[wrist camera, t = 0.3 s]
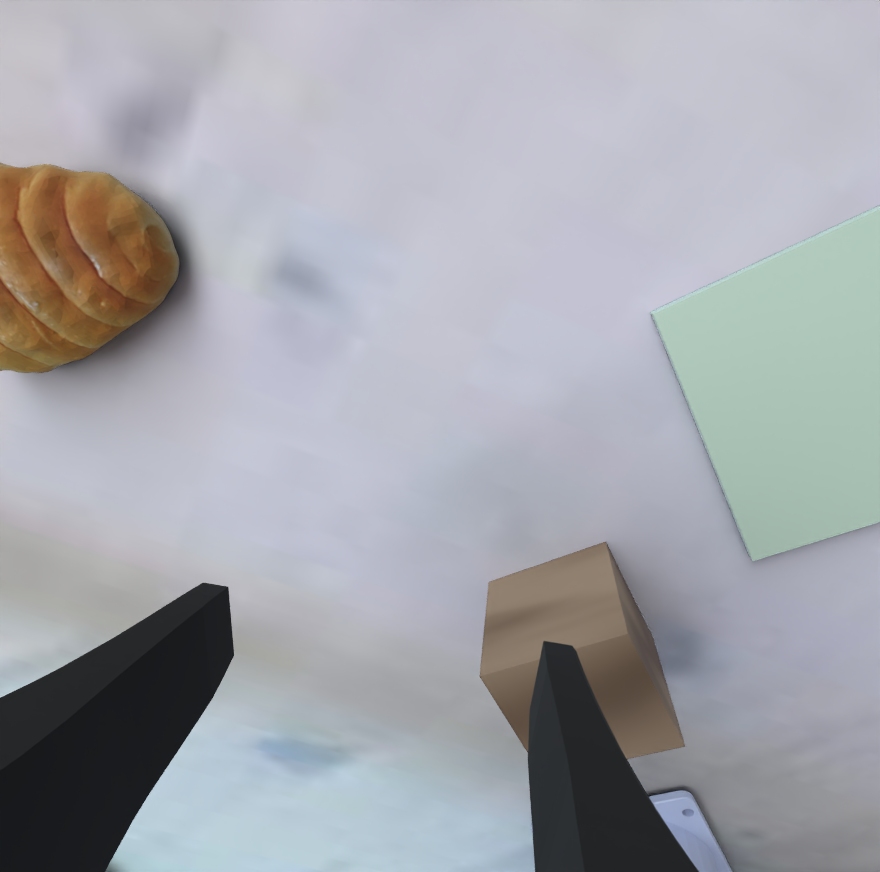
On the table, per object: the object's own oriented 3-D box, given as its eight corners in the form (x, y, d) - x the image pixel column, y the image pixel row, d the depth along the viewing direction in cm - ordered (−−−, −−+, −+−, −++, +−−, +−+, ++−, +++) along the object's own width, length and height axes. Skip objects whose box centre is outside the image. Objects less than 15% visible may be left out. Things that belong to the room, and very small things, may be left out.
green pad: (1077, 452, 17) (1089, 457, 17) (748, 555, 20) (752, 561, 20) (1022, 138, 14) (1035, 136, 14) (650, 312, 17) (652, 314, 17)
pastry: (139, 121, 18) (45, 101, 14) (220, 324, 20) (156, 349, 16) (-76, 201, 20) (-204, 200, 16) (20, 376, 22) (-74, 407, 19)
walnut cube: (652, 636, 22) (684, 746, 18) (539, 668, 24) (543, 777, 19) (605, 540, 21) (627, 633, 16) (488, 581, 22) (479, 676, 18)
